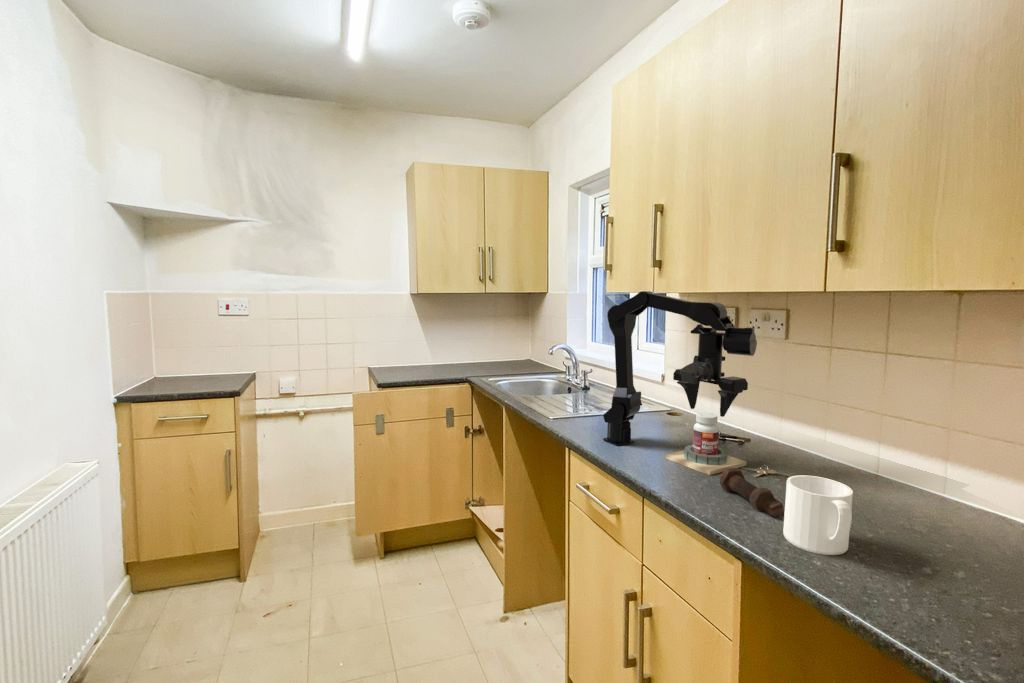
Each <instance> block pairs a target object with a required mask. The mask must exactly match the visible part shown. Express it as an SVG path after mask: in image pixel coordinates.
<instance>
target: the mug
mask: <svg viewBox="0 0 1024 683" xmlns="http://www.w3.org/2000/svg"><path fill="white" fill-rule="evenodd" d="M786 479H787V480H786V484H785V485H786V487H785V501H784V503H785V504H784V516H783V530H782V534H783V537H784V538H785V539H786V541H787V542H788V543H790V544H791V545H793V546H795V547H797V548H799V549H801V550H803V551H805V552H806V551H807V552H810V553H813V554H817V555H823V556H838V555H843V554H844V553H846V552H847V551H848V550H849V544H850V543H849V542H850V531H851V526H852V519H853V518H852V517H853V513H852V506H853V505H852V504H853V495H854V490H853V489H852V488H851V487H849V485H846V484H844V483H843V482H839V481H837V480H835V479H834V480H833V479H830V478H826V477H823V476H822V477H821V476H815V475H808V474H807V475H802V474H801V475H792V476H789V477H788V478H786Z"/></svg>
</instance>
